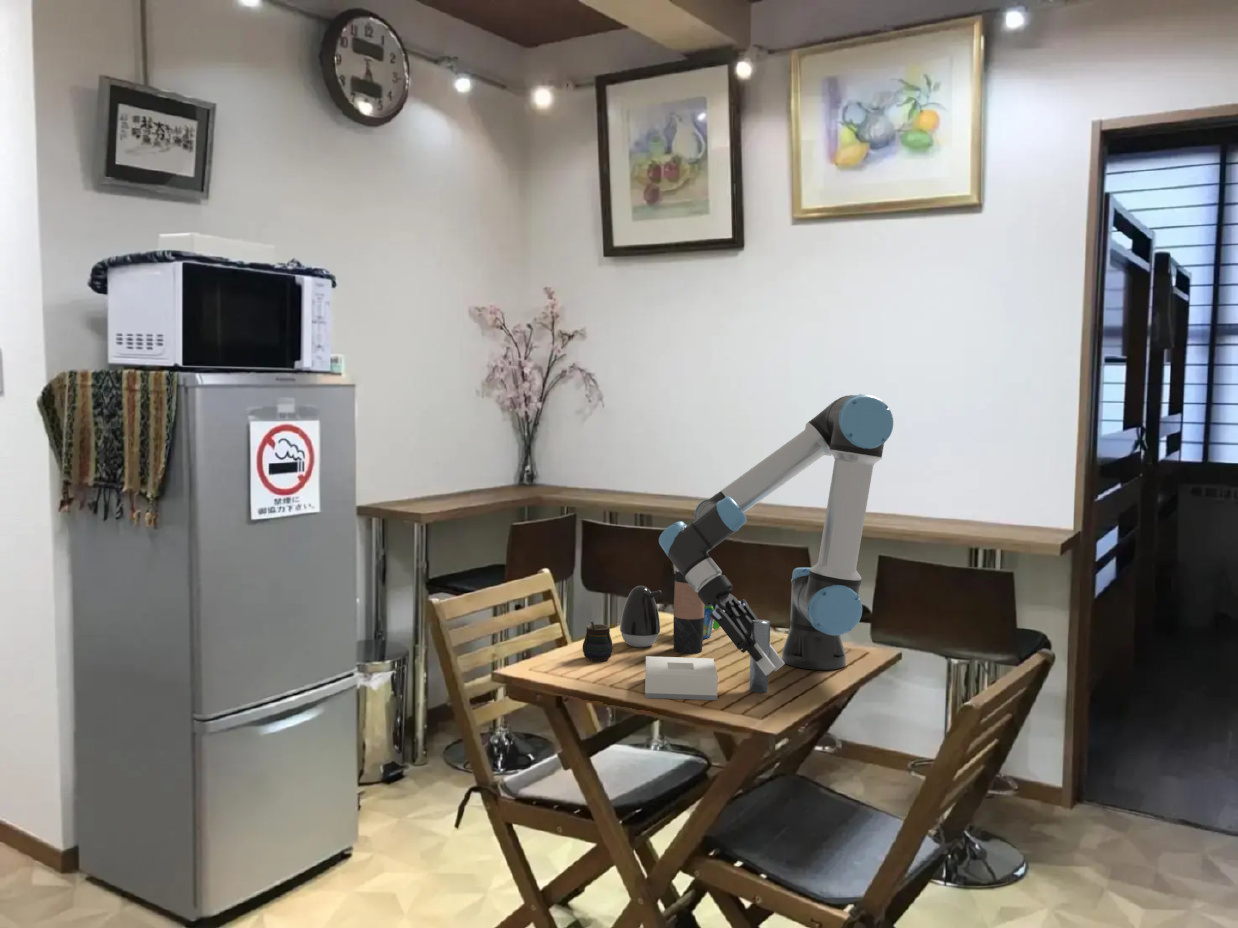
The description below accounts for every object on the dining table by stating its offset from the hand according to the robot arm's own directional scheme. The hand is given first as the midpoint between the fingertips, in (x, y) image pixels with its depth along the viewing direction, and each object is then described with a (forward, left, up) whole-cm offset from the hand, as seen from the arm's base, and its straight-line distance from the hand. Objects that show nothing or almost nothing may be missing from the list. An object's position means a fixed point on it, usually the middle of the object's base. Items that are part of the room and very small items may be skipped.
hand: (775, 669), depth 214 cm
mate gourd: (+39, -24, -6) cm, 46 cm away
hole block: (+20, -1, -5) cm, 21 cm away
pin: (+3, -2, -5) cm, 6 cm away
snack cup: (+14, -52, -5) cm, 54 cm away
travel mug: (+17, -36, -5) cm, 40 cm away
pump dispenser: (+29, -40, -5) cm, 50 cm away
